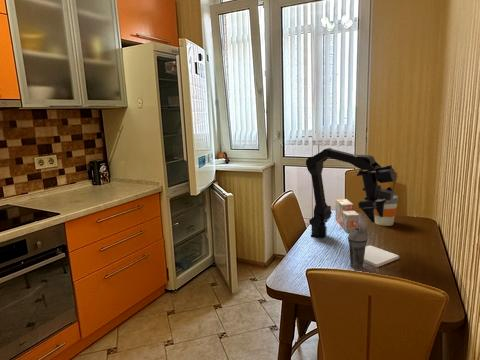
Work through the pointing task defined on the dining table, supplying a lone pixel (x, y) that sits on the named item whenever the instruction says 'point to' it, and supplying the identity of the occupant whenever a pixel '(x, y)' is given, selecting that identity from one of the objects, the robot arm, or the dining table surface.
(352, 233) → the beverage cup
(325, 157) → the robot arm
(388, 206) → the reusable coffee cup
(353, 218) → the patterned box
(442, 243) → the dining table surface
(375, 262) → the board
